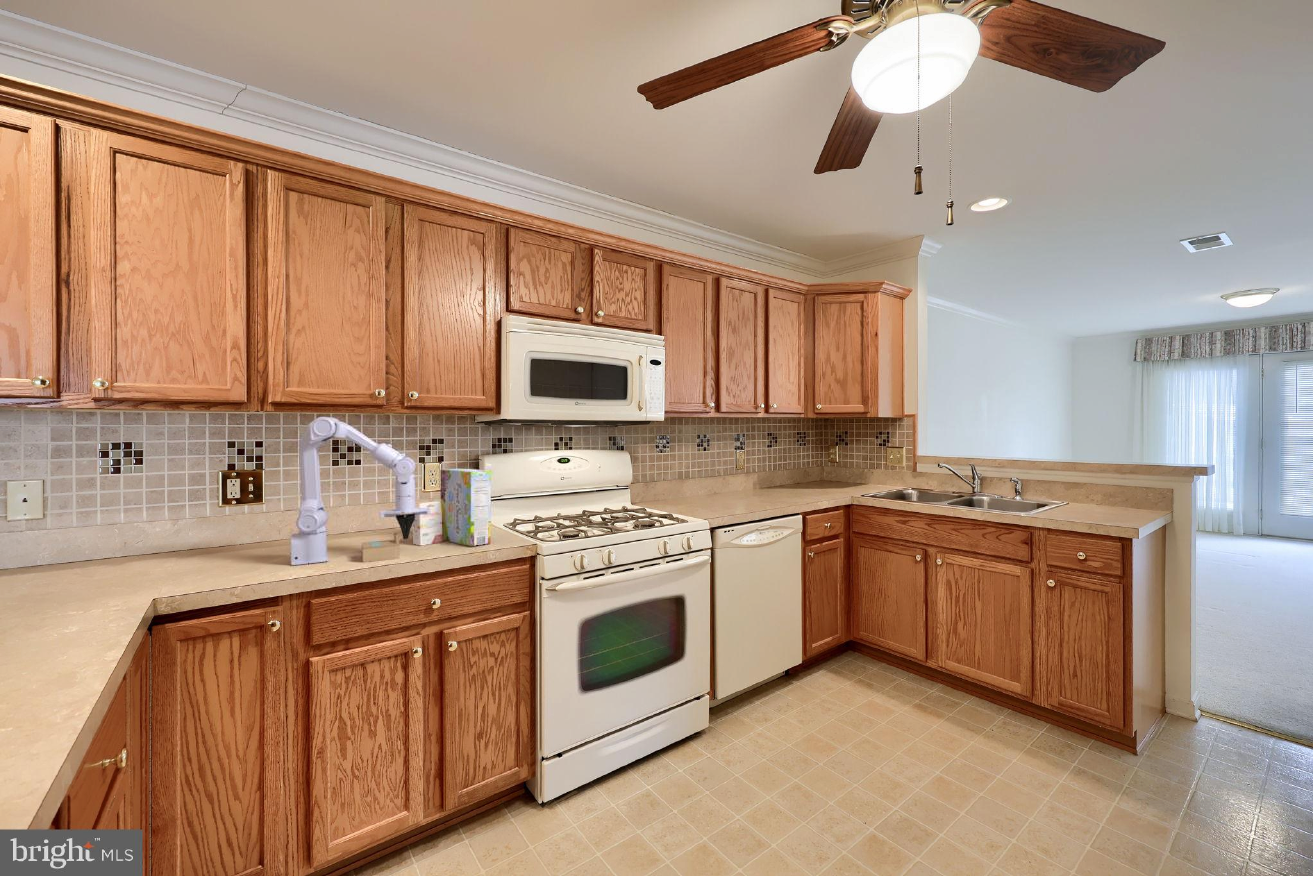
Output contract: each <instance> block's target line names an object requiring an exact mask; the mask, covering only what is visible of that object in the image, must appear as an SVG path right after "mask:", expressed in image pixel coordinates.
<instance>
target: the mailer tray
mask: <svg viewBox="0 0 1313 876" xmlns="http://www.w3.org/2000/svg"><path fill="white" fill-rule="evenodd" d="M400 554H401V553H400V545H399V546H389V547H379V548H369V549H363V547H362V546H361V559H362V563H370V562H369V561H372V562H379V561H381V560H382V561H389V560H391V561H392V560H397V559H396V558H400ZM400 559H401V558H400ZM382 561H381V562H382Z"/></svg>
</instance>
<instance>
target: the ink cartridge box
mask: <svg viewBox="0 0 1313 876" xmlns="http://www.w3.org/2000/svg"><path fill="white" fill-rule="evenodd" d="M430 505H431V506H430ZM429 506H430V507H429ZM418 508H430V514H428V515H427V514H423V515H415V520H414V522H413V524H412V538H413V539H412V540H413V541H412V542H413V543H412V544H413V545H414V544H416V545H415V546H419V545H423V546H427V545H426V544H429V545H432V544H433V543H434V544H438V543H437V542H439V543H443V540H442V510H441V500H438V501H437V500H436V501H429V502H428V501H427V502H421V503H419V507H418ZM434 544H433V545H434Z"/></svg>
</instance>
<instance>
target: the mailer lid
mask: <svg viewBox="0 0 1313 876" xmlns="http://www.w3.org/2000/svg"><path fill="white" fill-rule="evenodd" d="M389 546H399V547H400V536H399V534H398V533H397V532H396V533H394V534H393V539H388V540H387V539H386V540H379V541H378V540H375V541H366V542H365V541H364V542H361V548H362V547H363V549H369V548H379V547H389Z"/></svg>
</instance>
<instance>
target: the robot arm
mask: <svg viewBox="0 0 1313 876" xmlns="http://www.w3.org/2000/svg"><path fill="white" fill-rule="evenodd" d="M333 438H339V439H347V440H349V441H351V442H353V443H354V444H356V445H357V446H360V447H361V448H363V449H365V450H367V451H368V452H370V453H371V457H372V460H373V459H374V461H376V462H378V463H380V464H381V465H382V466H384V467H386V468H388V469H389V470H393V473H394V474H395V482H394V483H395V484H394V488H395V491H394V492H395V493H394V495H395V500H394V501H395V509H388V510H380V511H379V518H380V519H384V518H391V517H392V518H393V517H394V518H395V519H396V520H397V523H398V525H399V527H400V530H401V533H402V539H403V540H409V537H410V532H411V528H412V527H413V522H414V520H415V515H423V514H427V515H428V514H430V508H428V507H427V508H420V507H416V480H415V478H416V476H415V473H414V472H415V471H416V462H415V461H414V460H413V459H412V458H411V457H407V456H406V454H405V453H404V452H403V453H400V452H399V451H397V450H395V449H394V447H393V445H391V444H390V443H388V444H386V443H385V442H384V443H377V442H375V441H374V440H372V439H371V438H369V437H368V436H366V435H365V434H364V433H362V432H360V431H359V430H358V429H356V428H355V427H354V426H351V425H350V424H348V423H346V422H344V421H341V420H339V419H338V418H336V417H329V416H319V417H317V418H315V419H314V420H312V421H311V422H310V423H309V424H307V428H306V429H305V431H304V433H303V435H302V436H301V437H300V440H299V441H298V455H299V456H298V457H299V476H300V489H301V490H300V491H301V503H300V506H299V510H298V511H299V513H298V517H297V518H296V524H295V525H296V527H297V529H298V533H297V532H296V533H291V534H290V553H289V558H290V566H297V565H298V566H299V565H306V564H307V565H309V564H315V563H316V564H317V563H318V564H319V563H326V561H327V562H329V559H330V558H329V554H328V538H327V535H328V534H327V528H326V526H325V525H326V524H327V523H328V520H329V515H328V512H327V511H326V509H325V503H324V502H323V499H322V487H321V485H322V484H321V471H320V469H321V467H320V454H319V453H320V452H319V451H320V448H321V446H323V445H324V444H325V443H326V442H327V441H329V440H331V439H333ZM308 563H309V564H308Z"/></svg>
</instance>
